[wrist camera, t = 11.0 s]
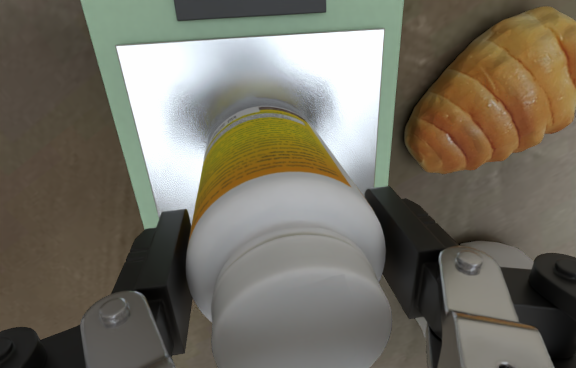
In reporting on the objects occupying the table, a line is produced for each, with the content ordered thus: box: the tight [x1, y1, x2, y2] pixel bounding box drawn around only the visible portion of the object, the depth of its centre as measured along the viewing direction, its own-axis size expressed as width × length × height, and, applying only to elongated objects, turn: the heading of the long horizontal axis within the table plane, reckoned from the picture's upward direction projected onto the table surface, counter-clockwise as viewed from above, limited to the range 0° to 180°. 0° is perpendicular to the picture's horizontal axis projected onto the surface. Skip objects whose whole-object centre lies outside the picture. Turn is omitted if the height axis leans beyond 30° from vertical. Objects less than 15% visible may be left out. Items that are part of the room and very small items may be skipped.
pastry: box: [404, 6, 576, 174], centre depth 18 cm, size 9×7×4 cm
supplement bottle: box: [186, 106, 392, 368], centre depth 12 cm, size 6×6×10 cm
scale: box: [80, 0, 404, 229], centre depth 17 cm, size 15×13×3 cm
